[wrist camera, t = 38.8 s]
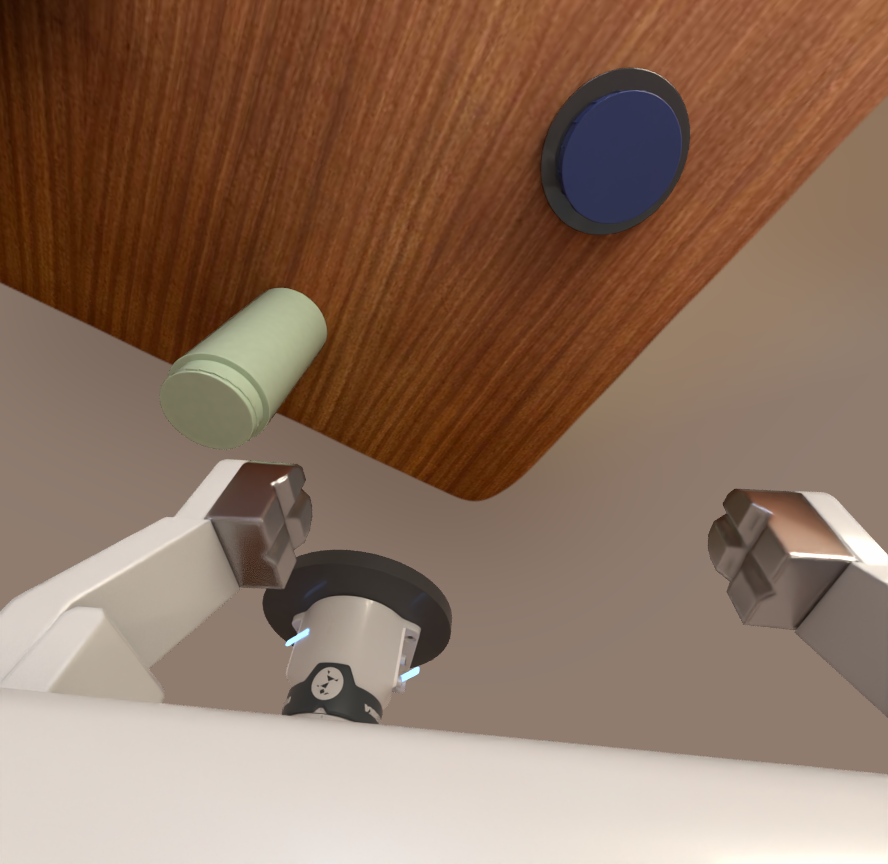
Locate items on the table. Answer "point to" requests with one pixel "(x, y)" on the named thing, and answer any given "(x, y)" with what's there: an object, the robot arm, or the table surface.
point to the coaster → (569, 112)
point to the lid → (620, 156)
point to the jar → (243, 370)
